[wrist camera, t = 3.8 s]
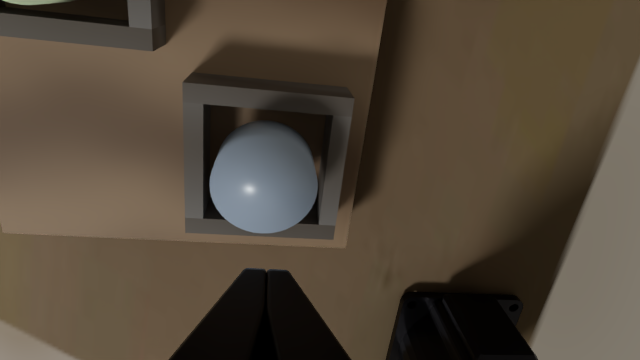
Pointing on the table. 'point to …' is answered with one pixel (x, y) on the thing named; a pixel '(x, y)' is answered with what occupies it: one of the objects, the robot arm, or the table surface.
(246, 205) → the slate blue button
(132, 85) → the console
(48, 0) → the sage button
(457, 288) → the table surface
